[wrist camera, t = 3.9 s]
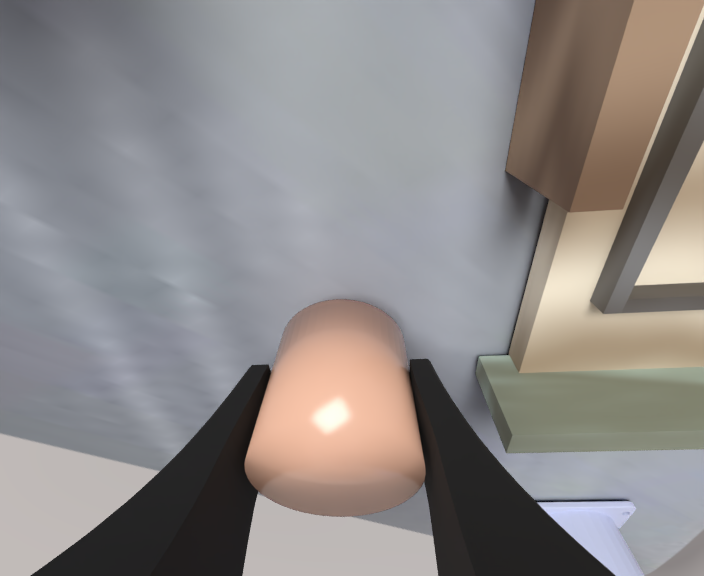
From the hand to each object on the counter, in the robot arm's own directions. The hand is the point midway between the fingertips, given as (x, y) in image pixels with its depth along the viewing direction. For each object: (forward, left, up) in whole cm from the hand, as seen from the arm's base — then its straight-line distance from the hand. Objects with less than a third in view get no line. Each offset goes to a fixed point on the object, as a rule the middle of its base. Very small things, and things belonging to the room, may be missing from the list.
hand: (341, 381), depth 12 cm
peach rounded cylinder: (0, 0, -2) cm, 2 cm away
